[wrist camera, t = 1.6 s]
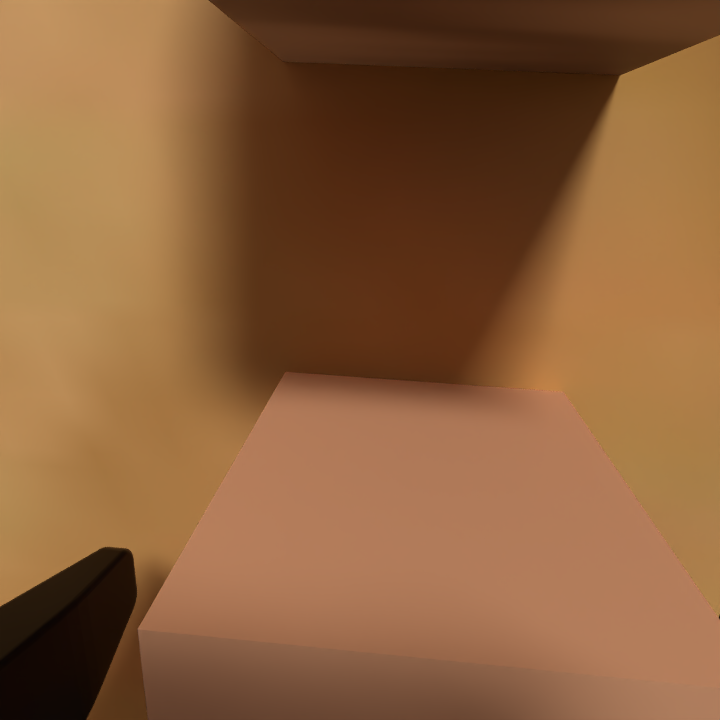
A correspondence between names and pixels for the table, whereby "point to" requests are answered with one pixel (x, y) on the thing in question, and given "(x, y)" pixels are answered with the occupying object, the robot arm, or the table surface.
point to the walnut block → (479, 32)
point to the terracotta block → (426, 570)
